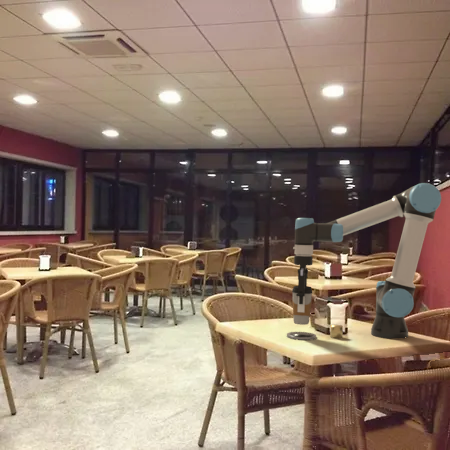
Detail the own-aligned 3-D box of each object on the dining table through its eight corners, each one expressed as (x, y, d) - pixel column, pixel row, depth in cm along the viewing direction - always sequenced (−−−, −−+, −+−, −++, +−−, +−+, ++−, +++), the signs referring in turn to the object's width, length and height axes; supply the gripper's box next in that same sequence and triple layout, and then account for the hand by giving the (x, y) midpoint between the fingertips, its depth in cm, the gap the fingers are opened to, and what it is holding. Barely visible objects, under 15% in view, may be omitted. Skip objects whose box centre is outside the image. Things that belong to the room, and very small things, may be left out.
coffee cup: (311, 325, 213) (312, 288, 213) (290, 324, 214) (291, 287, 214) (311, 322, 221) (313, 286, 221) (291, 320, 222) (292, 285, 222)
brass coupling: (342, 336, 220) (342, 324, 220) (342, 339, 215) (342, 327, 215) (330, 336, 221) (330, 324, 221) (329, 338, 216) (330, 326, 216)
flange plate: (316, 335, 222) (316, 332, 222) (315, 341, 210) (315, 338, 210) (288, 333, 225) (288, 330, 225) (285, 339, 213) (285, 336, 213)
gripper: (296, 253, 229) (295, 306, 229) (291, 256, 208) (290, 313, 208) (314, 254, 227) (312, 307, 227) (311, 257, 206) (309, 315, 206)
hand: (301, 310), depth 218 cm, fingers closed on coffee cup, 8 cm apart
